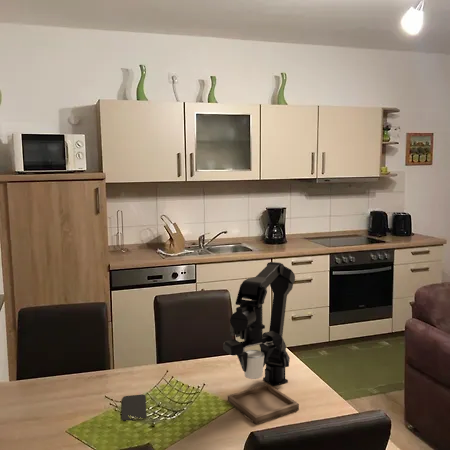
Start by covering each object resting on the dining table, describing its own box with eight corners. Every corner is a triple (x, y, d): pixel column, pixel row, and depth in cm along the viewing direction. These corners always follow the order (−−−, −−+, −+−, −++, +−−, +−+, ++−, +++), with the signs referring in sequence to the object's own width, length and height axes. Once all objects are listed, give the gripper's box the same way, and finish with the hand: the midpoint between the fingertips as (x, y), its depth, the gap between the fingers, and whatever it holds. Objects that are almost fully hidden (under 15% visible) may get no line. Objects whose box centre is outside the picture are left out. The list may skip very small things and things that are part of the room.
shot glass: (262, 381, 145) (262, 359, 144) (240, 378, 147) (240, 357, 146) (265, 371, 152) (265, 350, 151) (244, 369, 154) (244, 348, 153)
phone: (121, 420, 141) (122, 396, 156) (121, 423, 141) (122, 398, 156) (146, 417, 143) (145, 394, 157) (146, 420, 143) (145, 396, 157)
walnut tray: (268, 389, 161) (268, 383, 161) (298, 409, 147) (298, 403, 147) (227, 401, 153) (227, 395, 152) (255, 424, 139) (255, 417, 139)
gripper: (263, 309, 159) (264, 354, 161) (214, 318, 150) (215, 366, 152) (283, 318, 149) (283, 366, 151) (231, 329, 140) (232, 379, 142)
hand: (253, 368), depth 149 cm, fingers closed on shot glass, 6 cm apart
